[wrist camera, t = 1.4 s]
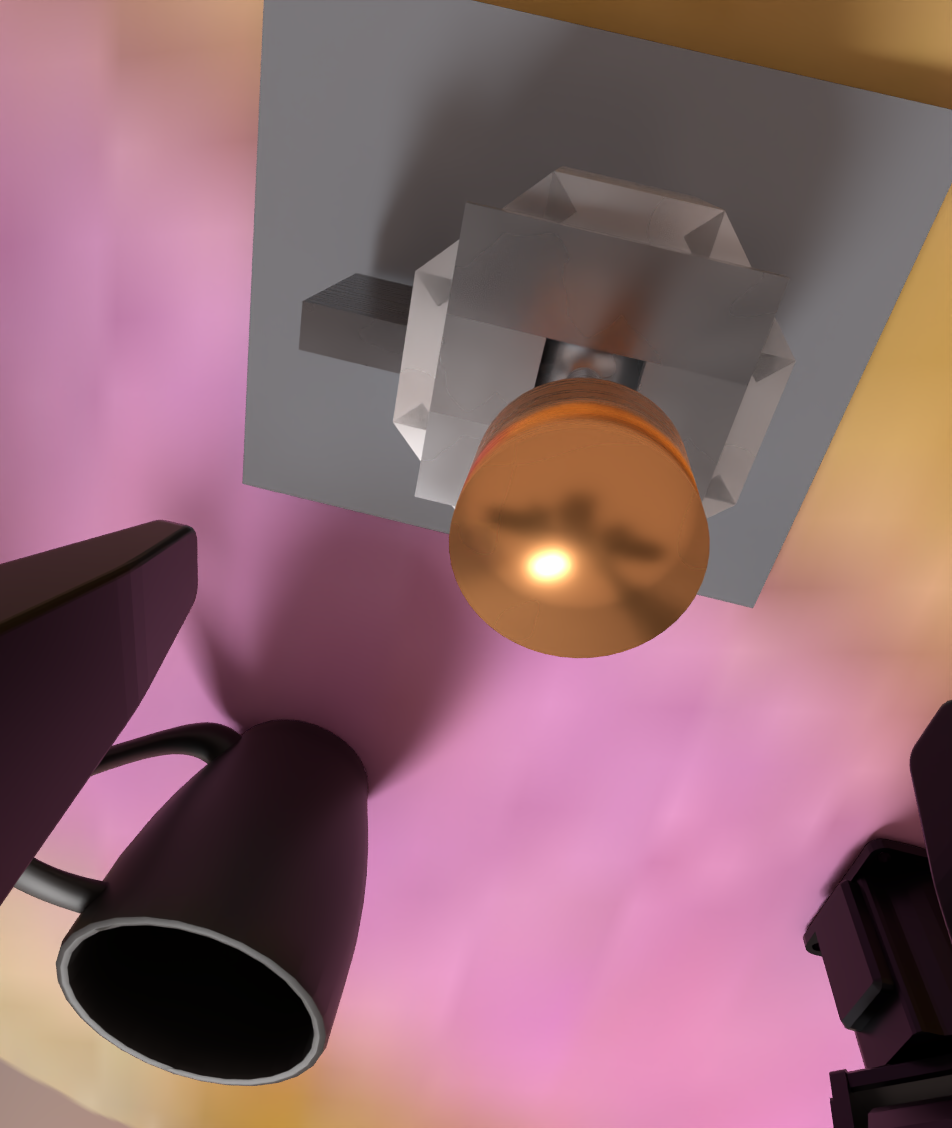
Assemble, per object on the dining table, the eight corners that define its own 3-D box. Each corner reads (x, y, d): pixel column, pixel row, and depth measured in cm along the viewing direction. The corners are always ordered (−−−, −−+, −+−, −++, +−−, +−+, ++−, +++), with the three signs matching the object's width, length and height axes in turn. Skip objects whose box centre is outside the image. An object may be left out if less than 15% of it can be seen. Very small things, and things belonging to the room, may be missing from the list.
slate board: (966, 117, 17) (982, 116, 16) (748, 594, 23) (752, 607, 23) (279, -39, 17) (265, -48, 16) (252, 473, 24) (242, 483, 23)
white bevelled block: (787, 217, 18) (854, 241, 13) (679, 504, 21) (702, 599, 17) (381, 123, 18) (309, 114, 13) (346, 424, 22) (281, 496, 17)
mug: (197, 585, 26) (15, 786, 18) (444, 786, 29) (385, 1037, 21) (86, 702, 30) (-109, 915, 21) (317, 870, 33) (223, 1114, 24)
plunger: (745, 283, 15) (878, 401, 8) (661, 511, 18) (707, 753, 11) (492, 223, 15) (403, 289, 8) (446, 459, 18) (350, 665, 11)
